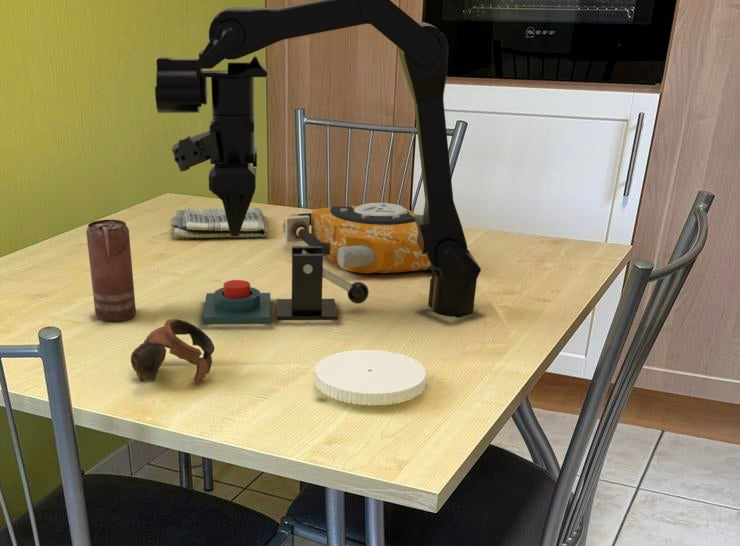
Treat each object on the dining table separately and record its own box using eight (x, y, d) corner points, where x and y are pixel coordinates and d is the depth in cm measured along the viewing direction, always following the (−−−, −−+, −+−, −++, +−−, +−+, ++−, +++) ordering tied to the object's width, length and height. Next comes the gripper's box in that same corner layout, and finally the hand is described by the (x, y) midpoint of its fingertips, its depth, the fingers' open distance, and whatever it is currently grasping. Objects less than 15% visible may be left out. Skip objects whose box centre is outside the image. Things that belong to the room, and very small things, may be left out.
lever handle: (360, 303, 141) (371, 285, 140) (361, 310, 139) (373, 292, 137) (293, 264, 138) (304, 245, 137) (293, 270, 136) (305, 251, 134)
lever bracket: (334, 305, 144) (336, 243, 139) (337, 324, 137) (339, 258, 132) (276, 306, 144) (276, 243, 139) (276, 324, 137) (276, 258, 132)
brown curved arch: (158, 359, 127) (186, 310, 123) (205, 403, 125) (234, 355, 121) (101, 367, 117) (128, 314, 113) (150, 415, 115) (180, 362, 111)
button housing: (270, 303, 145) (270, 281, 144) (270, 328, 136) (270, 305, 134) (207, 303, 146) (206, 281, 144) (202, 328, 136) (201, 305, 134)
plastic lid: (413, 366, 123) (415, 348, 122) (434, 411, 112) (436, 392, 110) (309, 368, 123) (309, 350, 122) (319, 414, 111) (320, 395, 110)
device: (329, 240, 146) (275, 197, 170) (328, 291, 150) (275, 242, 175) (459, 228, 151) (388, 188, 175) (454, 278, 155) (386, 232, 180)
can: (98, 325, 137) (88, 231, 130) (93, 311, 143) (83, 220, 135) (139, 321, 139) (131, 227, 131) (132, 308, 144) (124, 216, 137)
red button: (250, 290, 141) (250, 279, 140) (250, 299, 137) (249, 288, 136) (224, 291, 141) (224, 279, 140) (223, 299, 137) (222, 288, 137)
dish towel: (262, 215, 192) (262, 199, 190) (268, 239, 177) (268, 222, 175) (173, 217, 191) (172, 201, 189) (171, 241, 176) (170, 224, 174)
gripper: (179, 102, 134) (185, 212, 142) (167, 124, 118) (174, 246, 126) (256, 102, 134) (257, 212, 142) (254, 124, 118) (255, 246, 126)
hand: (235, 228), depth 134 cm, fingers open, 7 cm apart
